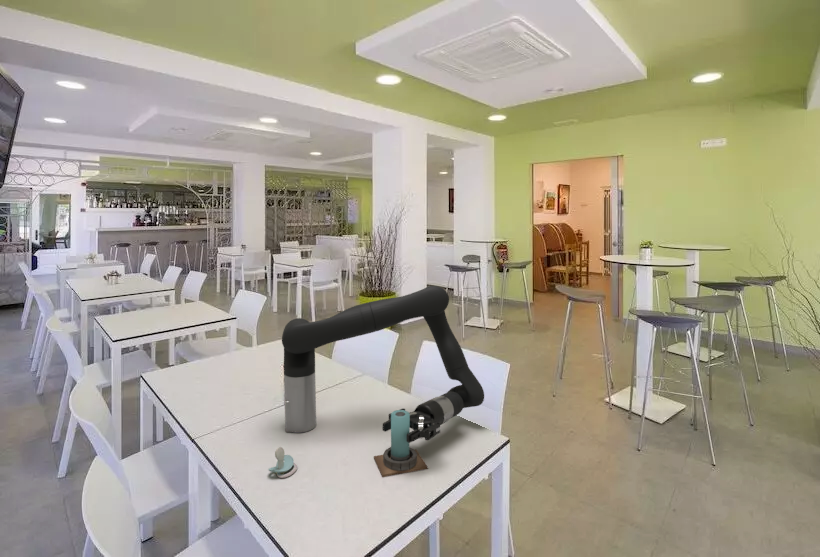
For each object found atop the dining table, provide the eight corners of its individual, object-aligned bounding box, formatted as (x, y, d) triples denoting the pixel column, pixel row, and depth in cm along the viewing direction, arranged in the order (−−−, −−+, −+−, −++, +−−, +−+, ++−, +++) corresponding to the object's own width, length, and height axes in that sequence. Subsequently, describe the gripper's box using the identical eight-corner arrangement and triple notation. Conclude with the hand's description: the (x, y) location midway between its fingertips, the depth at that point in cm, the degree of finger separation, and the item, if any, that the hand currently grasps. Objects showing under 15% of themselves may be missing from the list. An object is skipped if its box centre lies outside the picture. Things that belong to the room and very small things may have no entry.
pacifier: (302, 466, 113) (281, 461, 114) (302, 443, 112) (281, 439, 113) (286, 482, 106) (265, 477, 107) (286, 458, 105) (265, 454, 106)
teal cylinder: (393, 467, 111) (393, 419, 109) (388, 457, 115) (388, 411, 114) (412, 464, 112) (412, 416, 111) (406, 454, 117) (406, 408, 115)
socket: (382, 477, 108) (382, 467, 107) (373, 458, 116) (373, 449, 116) (427, 468, 112) (427, 459, 111) (416, 451, 120) (416, 442, 120)
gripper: (415, 393, 127) (375, 411, 115) (455, 407, 118) (416, 428, 106) (415, 417, 128) (375, 437, 116) (454, 433, 119) (416, 457, 107)
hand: (395, 433), depth 111 cm, fingers open, 8 cm apart
